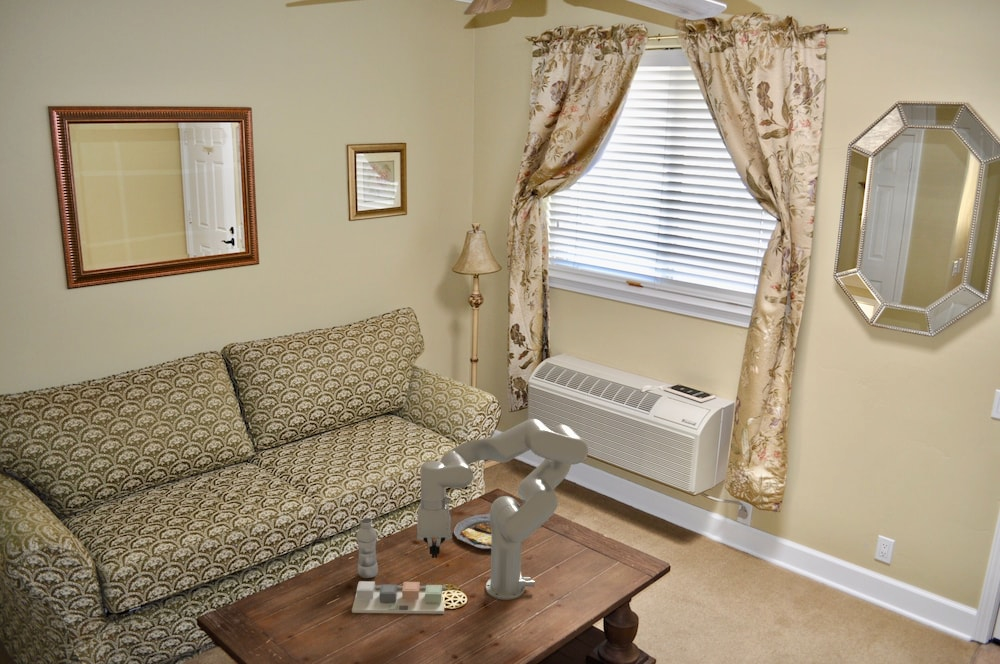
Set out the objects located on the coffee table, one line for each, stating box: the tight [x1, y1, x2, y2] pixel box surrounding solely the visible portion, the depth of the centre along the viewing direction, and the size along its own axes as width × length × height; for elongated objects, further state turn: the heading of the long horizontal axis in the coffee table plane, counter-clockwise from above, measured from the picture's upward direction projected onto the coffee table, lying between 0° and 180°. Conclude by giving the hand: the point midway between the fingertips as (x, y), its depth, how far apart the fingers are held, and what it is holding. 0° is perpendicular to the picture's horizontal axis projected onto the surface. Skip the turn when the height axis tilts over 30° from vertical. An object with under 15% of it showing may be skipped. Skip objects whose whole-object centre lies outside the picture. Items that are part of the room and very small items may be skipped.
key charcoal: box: [379, 583, 398, 602], centre depth 260 cm, size 5×5×3 cm
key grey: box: [356, 580, 376, 599], centre depth 260 cm, size 5×5×3 cm
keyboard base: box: [351, 584, 447, 615], centre depth 261 cm, size 28×12×2 cm, turn 91°
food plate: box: [453, 513, 492, 550], centre depth 301 cm, size 25×23×4 cm
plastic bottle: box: [355, 517, 379, 579], centre depth 272 cm, size 6×7×20 cm
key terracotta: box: [402, 581, 421, 600], centre depth 260 cm, size 5×5×3 cm
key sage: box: [425, 584, 443, 603], centre depth 260 cm, size 5×5×3 cm
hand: (434, 555), depth 257 cm, fingers closed
